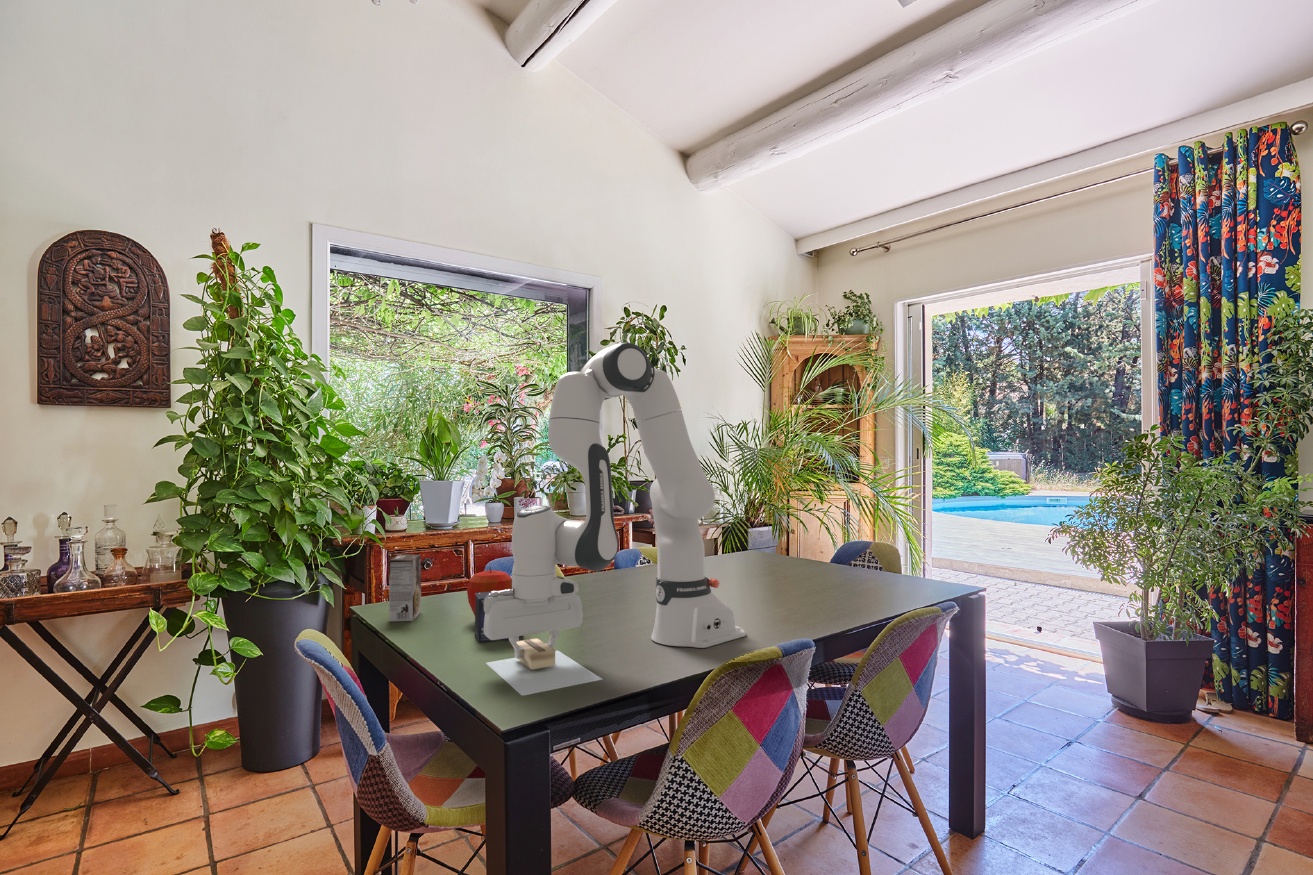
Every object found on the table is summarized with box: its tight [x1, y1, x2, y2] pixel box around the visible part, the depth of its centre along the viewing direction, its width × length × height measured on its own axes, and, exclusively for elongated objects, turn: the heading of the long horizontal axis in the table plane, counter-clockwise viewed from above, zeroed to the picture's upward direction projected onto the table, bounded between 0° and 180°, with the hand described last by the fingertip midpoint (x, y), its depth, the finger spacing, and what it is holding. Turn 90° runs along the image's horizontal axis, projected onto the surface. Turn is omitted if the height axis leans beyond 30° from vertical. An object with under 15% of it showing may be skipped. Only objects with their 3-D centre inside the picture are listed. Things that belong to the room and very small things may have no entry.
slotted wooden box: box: [513, 638, 556, 670], centre depth 137 cm, size 10×5×3 cm, turn 31°
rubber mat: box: [485, 650, 604, 696], centre depth 134 cm, size 16×22×1 cm
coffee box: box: [388, 554, 422, 622], centre depth 181 cm, size 9×6×16 cm
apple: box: [466, 567, 512, 616], centre depth 175 cm, size 12×12×14 cm
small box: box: [473, 592, 524, 644], centre depth 160 cm, size 11×6×10 cm, turn 114°
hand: (534, 654), depth 137 cm, fingers closed on slotted wooden box, 5 cm apart
